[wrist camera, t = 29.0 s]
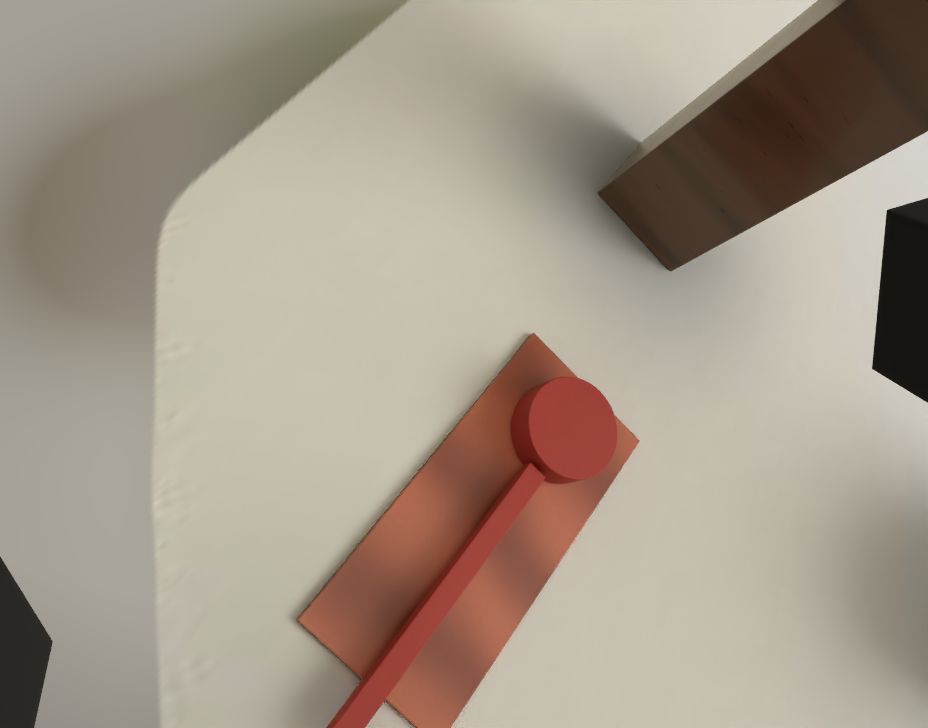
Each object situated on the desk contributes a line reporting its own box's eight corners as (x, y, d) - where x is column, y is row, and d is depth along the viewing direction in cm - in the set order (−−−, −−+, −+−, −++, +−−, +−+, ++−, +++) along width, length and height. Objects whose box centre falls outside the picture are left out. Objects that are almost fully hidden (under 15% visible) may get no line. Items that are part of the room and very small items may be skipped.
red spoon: (547, 364, 45) (565, 355, 44) (613, 432, 46) (634, 426, 44) (284, 695, 35) (294, 700, 33) (375, 776, 36) (390, 785, 34)
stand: (435, 745, 38) (1210, 1070, 12) (180, 516, 35) (453, 307, 10) (759, 256, 56) (1347, -36, 30) (603, 84, 53) (1091, -391, 28)
